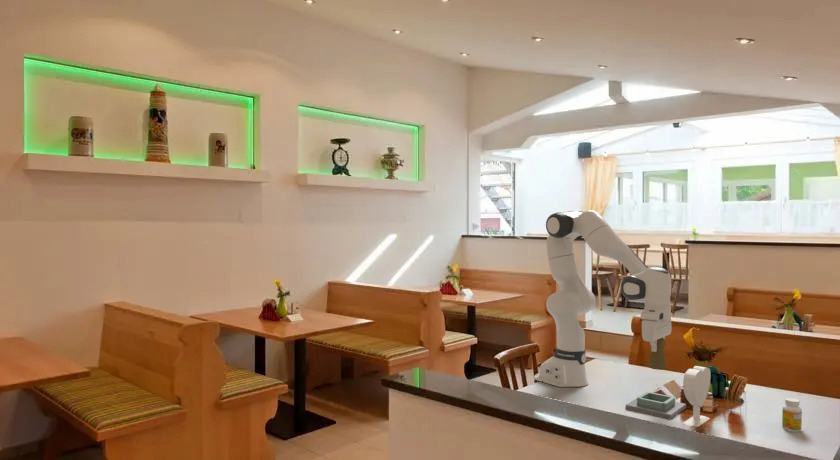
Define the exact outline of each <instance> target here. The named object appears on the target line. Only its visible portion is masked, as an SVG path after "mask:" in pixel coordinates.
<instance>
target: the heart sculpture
mask: <svg viewBox="0 0 840 460" xmlns="http://www.w3.org/2000/svg"><path fill="white" fill-rule="evenodd" d="M711 378H712V377H711V369H710V368H709V367H705V366H699V365H694V366H693V368H688V369H687V370H686V371H685V373H684V374H683V379H682V380H683V381H682V383H683V385H682V386H683V393H684V397H685V398H686V400H687V401H688V403H690V405H691V406H692V407H693V409H692V416H690V418H688V419H687V420H685V421H683V422H682V424H684V425H687V426H690V427H697V428H699V427H700V426H701V425H702V424H704V423H705V422H707V421H709V420H710V417H708V416H706V415H701V408H703V406H704V403H705V402H706V399H707V397H708V393H709V390H710V386H711Z"/></svg>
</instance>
